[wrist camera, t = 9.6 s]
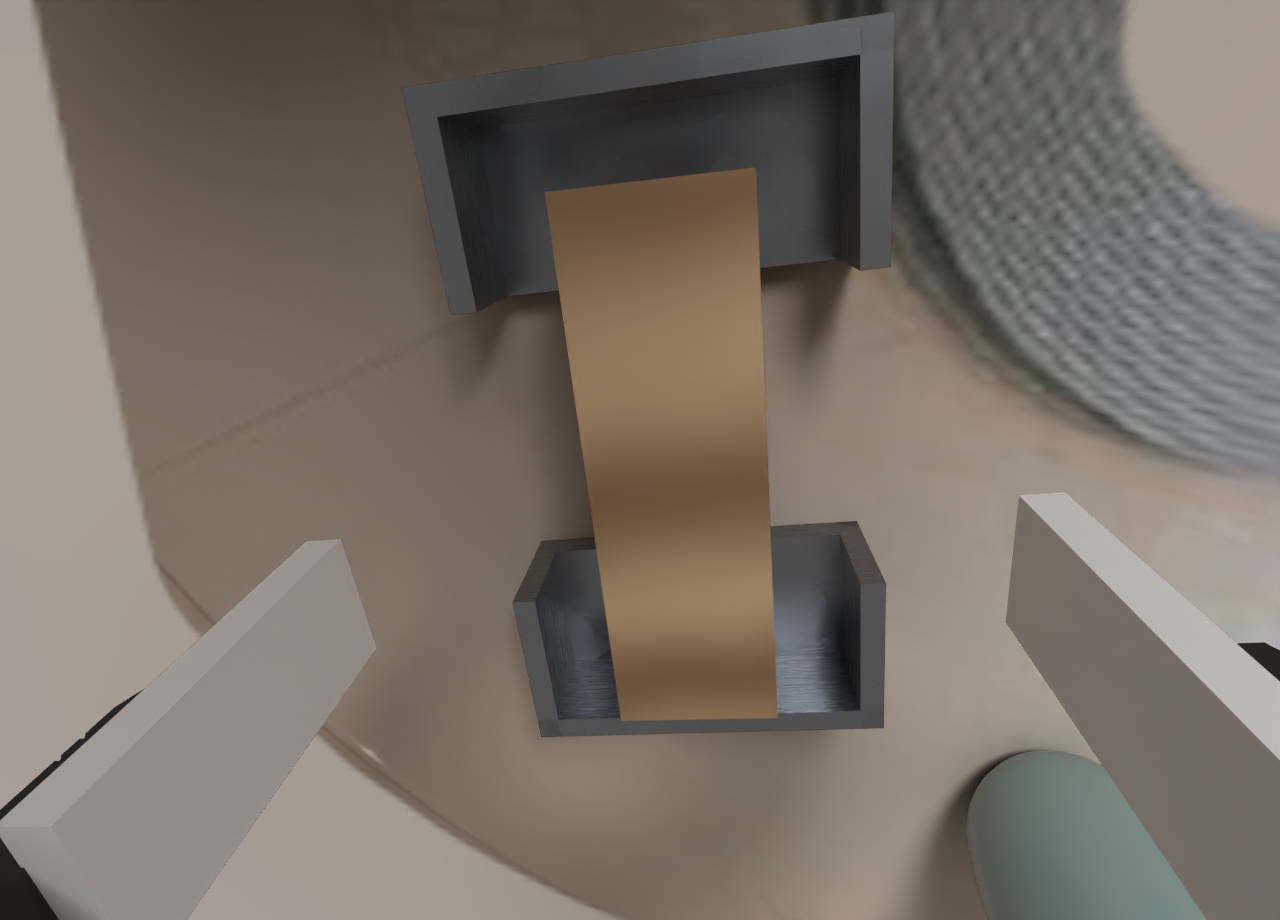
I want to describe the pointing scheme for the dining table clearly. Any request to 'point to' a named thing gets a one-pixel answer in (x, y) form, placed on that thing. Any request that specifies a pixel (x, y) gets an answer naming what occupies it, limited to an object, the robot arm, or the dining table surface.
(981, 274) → the dining table surface
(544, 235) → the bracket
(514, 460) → the dining table surface
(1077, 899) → the cup
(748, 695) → the wooden block
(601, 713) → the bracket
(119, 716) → the robot arm
